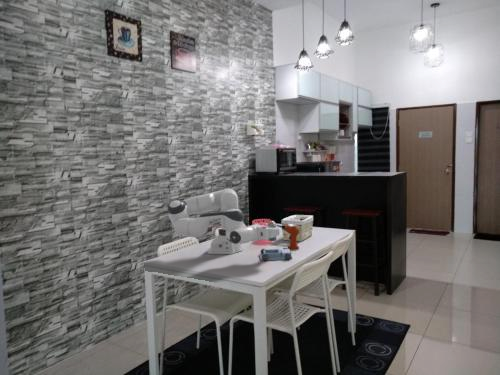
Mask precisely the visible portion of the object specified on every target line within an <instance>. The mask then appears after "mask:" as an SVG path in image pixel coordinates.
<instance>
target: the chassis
mask: <svg viewBox="0 0 500 375" xmlns="http://www.w3.org/2000/svg"><path fill="white" fill-rule="evenodd" d="M259 258H260V261H263V262H266V261H276V260H277V261H278V260H292V259H293V255H292V252H291V249H288V247H283V248H281V249H280V248H271V249H269V248H268V249H266V248H261V249H260V253H259Z"/></svg>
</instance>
